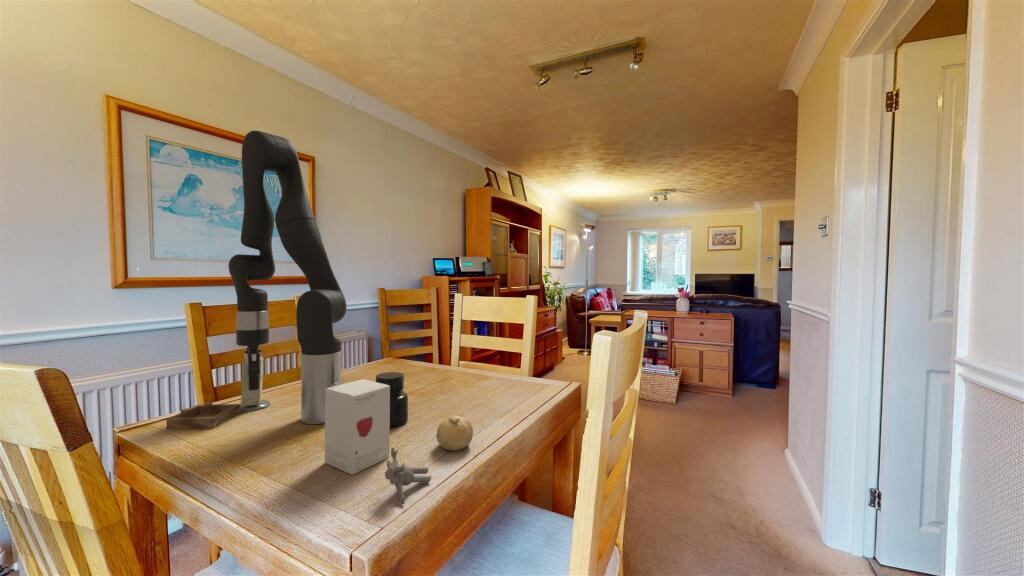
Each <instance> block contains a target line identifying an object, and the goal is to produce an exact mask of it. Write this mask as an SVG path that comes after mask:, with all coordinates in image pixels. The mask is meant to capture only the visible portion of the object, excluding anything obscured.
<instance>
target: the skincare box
mask: <svg viewBox="0 0 1024 576" xmlns="http://www.w3.org/2000/svg"><path fill="white" fill-rule="evenodd" d="M259 362H261V366H260V367H259V371H260V374H259V389H258V390H252V391H250V390H249V377H248V369H247V368H246V359H245V358H244V360H242V374H241V375H242V377H241V396H240V397H241V399H240V400H241V401H240V404H241V406H249V405H258V404H260V402H261V400H263V399H262V398H263V377H264V375H263V374H264V373H263V371H264V356H262V357H261V360H260V361H259ZM251 371H257V368H251Z"/></svg>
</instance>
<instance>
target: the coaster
mask: <svg viewBox="0 0 1024 576" xmlns="http://www.w3.org/2000/svg"><path fill="white" fill-rule="evenodd" d="M239 404H240V413H244V412H245V413H247V412H249V411H250V412H256V411H260V409H261V410H264V409H266V407H267V408H269V407H270V406H271V401H270V400H267V399H261V402H260V404H258V405H249V406H241V403H239ZM268 406H269V407H268ZM255 410H256V411H255Z"/></svg>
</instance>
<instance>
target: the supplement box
mask: <svg viewBox="0 0 1024 576" xmlns="http://www.w3.org/2000/svg"><path fill="white" fill-rule="evenodd" d="M390 429H391V428H390V385H386V384H382V383H377V382H376V381H372V380H368V379H365V378H364V379H359V380H355V381H351V382H346V383H345V382H344V384H342V385H338V386H334V387H330V388H326V389H325V423H324V463H325V464H327V465H329V466H332V467H334V468H335V469H338V470H340V471H342V472H345V473H347V474H349V475H351V476H352V475H355V474H357V473H359V472H362V471H363V470H366V469H368V468H370V467H371V466H373V465H376V464H377V463H378V464H379V463H381V462H382V461H385V460H386V459H389V458H390Z"/></svg>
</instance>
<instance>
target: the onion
mask: <svg viewBox="0 0 1024 576" xmlns="http://www.w3.org/2000/svg"><path fill="white" fill-rule="evenodd" d="M436 429H437V430H436V435H435V436H436V442H438V444H439V445H440V447H441V448H443V449H444V450H447V451H459V450H463V449H465V448H466V447H468V446H469V445H470V443H471V442H472V439H473V437H474V429H473V426H472V423H471V422H470V421H469V420H468V419H467V418H464V417H463V416H460V415H456V416H449V417H447V418H446V419H444V420H442V421H441V423H440V424H439V426H438V427H437V428H436Z"/></svg>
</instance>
